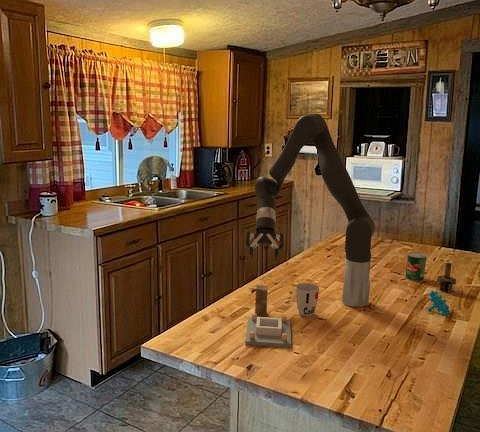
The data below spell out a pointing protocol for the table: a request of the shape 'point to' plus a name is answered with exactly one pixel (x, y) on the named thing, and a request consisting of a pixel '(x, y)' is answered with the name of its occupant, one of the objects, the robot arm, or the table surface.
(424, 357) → the table surface
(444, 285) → the industrial component
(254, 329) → the housing plate
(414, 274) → the canned tomato
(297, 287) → the cup
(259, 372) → the table surface
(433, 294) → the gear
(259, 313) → the brown block
